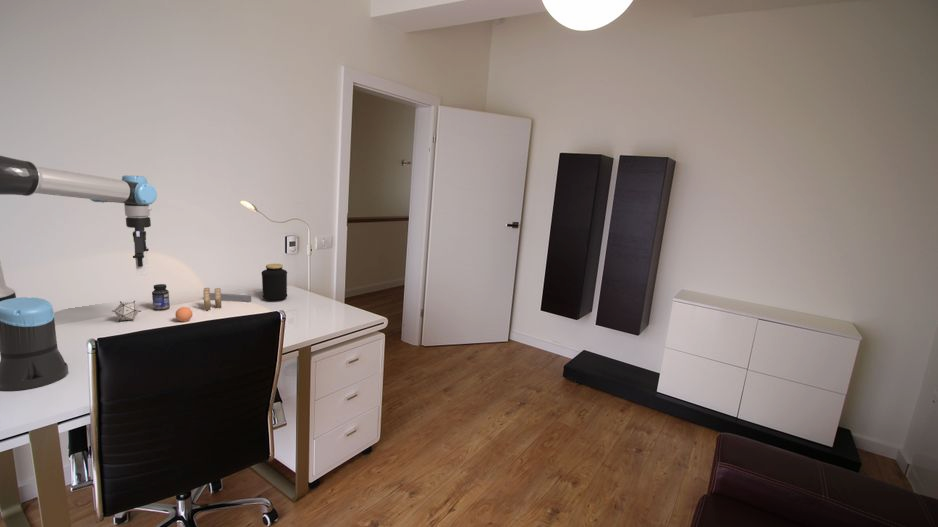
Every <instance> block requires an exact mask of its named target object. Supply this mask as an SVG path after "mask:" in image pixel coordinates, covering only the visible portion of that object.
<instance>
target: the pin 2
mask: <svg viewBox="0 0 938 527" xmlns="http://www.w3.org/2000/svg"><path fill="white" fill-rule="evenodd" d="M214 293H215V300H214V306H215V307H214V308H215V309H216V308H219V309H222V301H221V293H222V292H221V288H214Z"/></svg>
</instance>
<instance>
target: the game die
mask: <svg viewBox="0 0 938 527" xmlns="http://www.w3.org/2000/svg"><path fill="white" fill-rule="evenodd" d="M135 303H136V300H134V301H133V302H122V301H119V304H118V306H117V307H116V308H115V309H114V310H112V311H111V312H113V313H115V315H116V316H117V318H118V319H119V320H118V321H119V322H121V321H131V320H132V321H133V320H134V319H135V317H136V316H137V315H138V314H139V312H142V310H139V309H138V308H139V307H137V305H136V304H135Z"/></svg>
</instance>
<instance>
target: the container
mask: <svg viewBox="0 0 938 527" xmlns="http://www.w3.org/2000/svg"><path fill="white" fill-rule="evenodd" d="M287 275H288V271H287V270H286V269H283V264H280V263H269V264H266V265H265V269H264V270H262V271H261V282H262V284H261V286H262V299H263V300H265V301H268V302H279V301H283V300H285V299H287V297H288V296H289V295H288V276H287Z"/></svg>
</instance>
